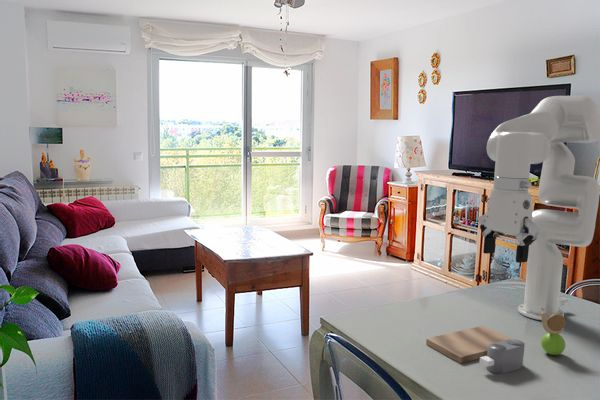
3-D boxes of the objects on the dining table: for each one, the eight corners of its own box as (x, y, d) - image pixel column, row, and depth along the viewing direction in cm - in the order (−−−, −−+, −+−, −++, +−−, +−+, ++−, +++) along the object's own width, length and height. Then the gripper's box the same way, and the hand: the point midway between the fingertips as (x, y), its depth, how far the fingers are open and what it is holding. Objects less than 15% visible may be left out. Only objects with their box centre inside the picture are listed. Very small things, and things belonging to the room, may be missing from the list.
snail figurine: (532, 349, 132) (536, 304, 130) (556, 349, 133) (560, 303, 131) (543, 359, 127) (548, 311, 125) (569, 358, 127) (573, 311, 126)
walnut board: (482, 330, 144) (483, 325, 143) (519, 347, 133) (519, 342, 133) (426, 344, 134) (426, 338, 134) (460, 363, 124) (460, 357, 124)
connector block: (512, 359, 126) (514, 337, 126) (526, 366, 123) (528, 344, 122) (476, 369, 121) (477, 347, 120) (489, 377, 117) (491, 354, 117)
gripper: (554, 189, 116) (547, 264, 118) (493, 182, 131) (488, 249, 133) (530, 189, 113) (523, 267, 115) (471, 182, 128) (466, 250, 130)
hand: (504, 257), depth 124 cm, fingers open, 9 cm apart
